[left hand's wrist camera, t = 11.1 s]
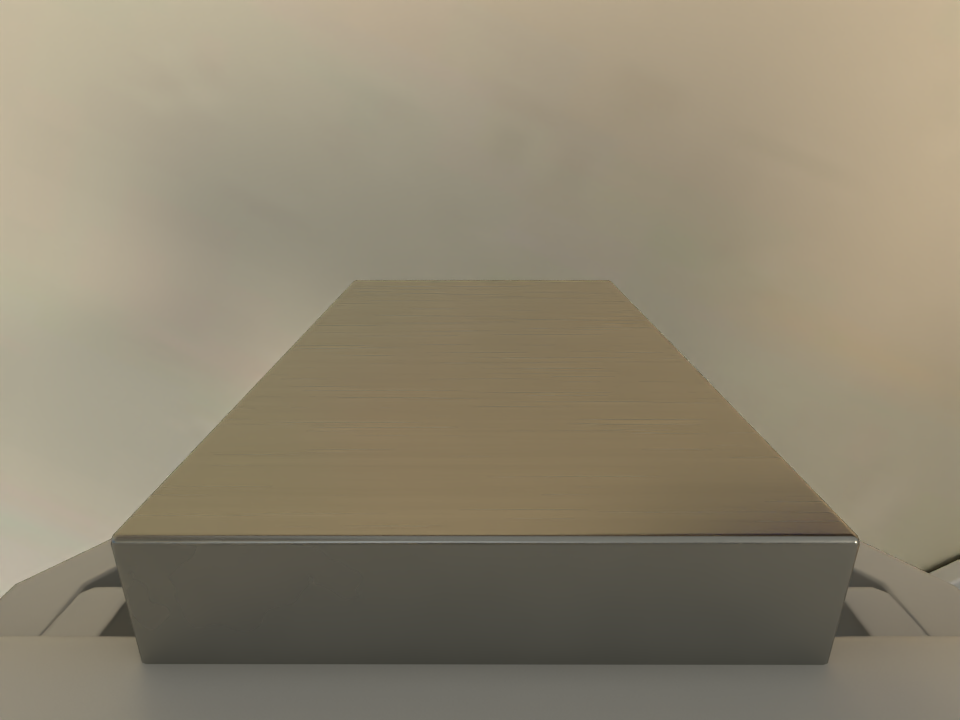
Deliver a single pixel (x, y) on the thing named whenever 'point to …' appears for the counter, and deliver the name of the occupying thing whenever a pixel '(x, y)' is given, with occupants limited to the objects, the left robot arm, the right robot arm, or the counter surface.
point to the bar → (484, 500)
